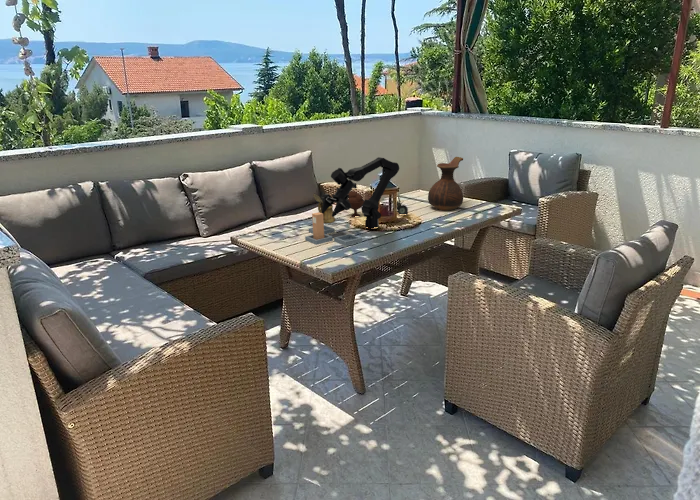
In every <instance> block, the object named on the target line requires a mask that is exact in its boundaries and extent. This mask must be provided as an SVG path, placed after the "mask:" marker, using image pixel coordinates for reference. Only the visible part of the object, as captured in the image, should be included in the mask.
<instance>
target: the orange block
mask: <svg viewBox="0 0 700 500" xmlns="http://www.w3.org/2000/svg"><path fill="white" fill-rule="evenodd" d="M311 216H312V227H313V233H312V235H313V239H315V240H318V239H323V238H324V225H325V223H324V220H323V213H319V211H318V212H314V213H311Z"/></svg>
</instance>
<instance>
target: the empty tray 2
mask: <svg viewBox="0 0 700 500" xmlns="http://www.w3.org/2000/svg"><path fill="white" fill-rule="evenodd" d="M346 234H347V233H346ZM333 242H334V243H337V244H339V245H342V246H345V247H348V246H351V245H355V244H359V243H362V242H363V238H362V237H361V236H358V235H354V234H352V233H348V234H347V235H343V236H339V237H335V238H334V239H333Z"/></svg>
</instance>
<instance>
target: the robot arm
mask: <svg viewBox="0 0 700 500" xmlns="http://www.w3.org/2000/svg"><path fill="white" fill-rule="evenodd" d="M378 168H382V170H381V171H382V172H381V177H380V179H379V181H378V183H377V184H376V187H375V189H374V191H373V192H372V195H371V196H370V197H369V199H364V203H363V205H362V207H361V208H360V209H361V212H362V214H363V217H365V220H364V221H365V222H364V227H368V228H370V229H371V228H374V227H378V226H379V227H380V224H379V222H380V220H379V219H381V217H382V213H381V212H379V207H380V205H379V204H380V200H381V198H382V196H383V194H384V193H385V191H386V189H387V187H388V185H389V183H390V181H391V179H393V178H394V177H396V175H397V174H398V172H399V171H400V166H399V163H397V162H393V161H391V160H388V159H386V158H385V157H379V156H378V157H376V158H375V159H373V160H372V161H370V162H367V163H366V164H364V165H361V166H359V167H354V168H351V169H348V170H347V171H346V172H345V171H344V170H343V168H341V167H338V168H337V169H335V170H334V171H332V172H331V174H330V178H331V179H332V180H333V181H334V183H336V184H337V185H339V187H337V188H336V189H335V190H336V191H335V193H334V194H333V193H332V195H331V194H329V193H328V194H327V193H323V195H322V196H321V199H322V202H323V206H322V213H324V212H325V211H326V210H327V209H328V207H329V206H333V205H334V204H335V207H334V206H333V207H334V209H333V214H332V217H334V218H335V217H336V215H338V214H339V213H340V212H343V211H349V210H350V209H351V204H350V202H349V200H348V198H349V195H348V194H349V192H351V191H352V190H353V189H358V187H357V182H360V181H362V180H363V179H364V178H365V176H366V175H367V174H369V173H371V172H373V171H375V170H377V169H378ZM384 170H385V171H384ZM384 172H385V173H384ZM365 230H366V231H370V230H369V229H367V228H365Z"/></svg>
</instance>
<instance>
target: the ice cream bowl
mask: <svg viewBox="0 0 700 500" xmlns="http://www.w3.org/2000/svg"><path fill="white" fill-rule="evenodd" d="M348 195H349V198H348V200H349V202H350V204H351V208H350V209H351V210H353V213H352V214H351V215H350V218H356V217H355V216H360V217H361V214H359V213H358V210H360V209H362V205H363V203H364V201H365V199H364V198H363V196H362V195H361V194H360V193H359V192H357V191H354V190H353V191H352V190H351V191H350V192H349V194H348Z"/></svg>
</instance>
